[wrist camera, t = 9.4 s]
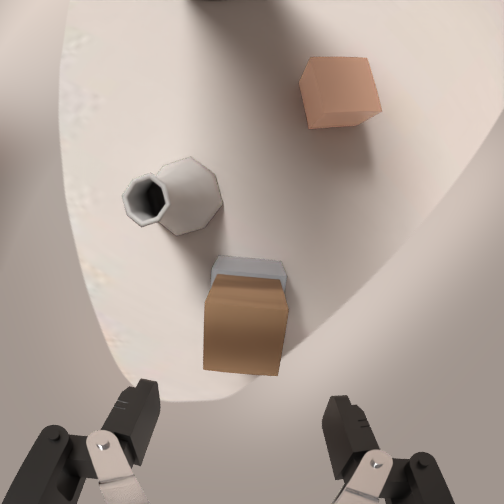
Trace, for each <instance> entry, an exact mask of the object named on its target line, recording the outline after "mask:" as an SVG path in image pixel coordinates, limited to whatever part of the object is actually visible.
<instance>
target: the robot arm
mask: <svg viewBox="0 0 504 504" xmlns="http://www.w3.org/2000/svg"><path fill="white" fill-rule="evenodd" d="M159 414H160V398H159V390H158V383H157V382H156V381H151V380H146V379H140V381H139V383H138V384H137V386H136V388H134V387H128V388H127V389H126V390H124V391H123V392H122V393H121V394H120V396H119V398H118V401H117V402H116V403H115V405H114V407H113V409H112V410H111V412H110V414H109V416H108V418H107V419H106V421H105V423H104V425H103V427H102V428H101V430H97V431H94V432H92V433H91V434H90V435H89V436H77V435H69V434H68V432H67V431H66V430H65V429H64V428H63V427H61V426H58V425H50V426H47V427H45V428H44V429H43V430H42V432H41V433H40V435H39V436H38V438H37V440H36V441H35V443H34V445H33V446H32V448H31V450H30V451H29V453H28V455H27V457H26V459H25V460H24V462H23V464H22V466H21V467H20V469H19V471H18V473H17V475H16V477H15V479H14V481H13V482H12V484H11V486H10V488H9V490H8V492H7V494H6V496H5V498H4V500H3V502H2V504H77V501H78V499H79V496H80V493H81V491H82V488H83V485H84V483H85V480H86V478H94V479H99V487H100V489H101V492H102V494H103V496H104V499H105V501H106V503H107V504H150V502H149V501H148V499H147V497H146V496H145V494H144V492H143V490H142V488H141V486H140V485H139V483H138V481H137V479H136V477H135V475H134V474H133V472H132V470H131V469H132V467H133V464H135V465H139V466H141V464H142V461H143V458H144V456H145V453H146V450H147V447H148V444H149V442H150V438H151V436H152V433H153V431H154V428H155V425H156V422H157V420H158V417H159ZM322 429H323V433H324V437H325V441H326V444H327V449H328V452H329V457H330V461H331V465H332V468H333V473H334V477H335V480H339V479H344V483H345V484H344V485H343V487H342V488H341V490H340V492H339V493H338V495H337V496H336V497H335V499H334V500H333V502H332V503H331V504H378V503H379V499H378V498H385V501H386V504H455V503H454V501H453V498H452V496H451V494H450V491H449V489H448V487H447V485H446V482H445V480H444V478H443V476H442V473H441V471H440V469H439V467H438V465H437V462H436V460H435V459H434V457H433V456H432V455H430V454H428V453H425V452H418V453H416V454H414V455H413V456H412V457H411V458H410V459H394V458H391V456H390V455H389V454H388V453H387V452H385V451H383V450H380V449H379V446H378V444H377V441H376V439H375V437H374V434H373V432H372V430H371V427H370V425H369V423H368V421H367V418H366V416H365V414H364V411H363V410H362V409H361V408H359V407H358V406H357V405H351V403H350V400H349V398H348V396H347V395H343V396H331V397H330V399H329V402H328V405H327V407H326V410H325V413H324V415H323V419H322Z"/></svg>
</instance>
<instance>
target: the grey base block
mask: <svg viewBox="0 0 504 504" xmlns="http://www.w3.org/2000/svg"><path fill="white" fill-rule="evenodd" d="M217 274H225V275H235V276H246V277H257V278H269V279H280V282H281V285H282V288H283V292H284V293H285V286H286V279H287V275H286V273H285V270H284V267H283V265H282V262H281V261H275V260H265V259H254V258H243V257H233V256H223V255H219V256H218V258H217V260H216V261H215V263H214V265H213V267H212V270H211V287H212V284H213V282H214V280H215V278H216V275H217ZM211 287H210V289H211Z"/></svg>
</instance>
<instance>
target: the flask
mask: <svg viewBox="0 0 504 504" xmlns="http://www.w3.org/2000/svg"><path fill="white" fill-rule="evenodd" d="M122 199H123V203H124V207H125V210H126V214H127V216H128V217H130V218H131V219H132V220H133V221H134V222H136V223H137V224H138V225H139V226H141V227H144V226H147V225H150V224H153V223H156V222H159V223H161V224H162V225H163V226H164V227H166V228H167V229H168V230H170V231H171V232H172V233H173V234H175V235H176V236H178V235H182V234H185V233H188V232H192V231H195V230H199V229H202V228H205V227H206V225H207V224H208V223H209V221H210V220H211V219H212V217H213V216H214V215H215V213H216V212H217V211H218V209H219V208H220V207H221V205H222V204H223V202H222V199H221V195H220V192H219V188H218V184H217V181H216V177H215V174H214V173H213V172H211V171H210V170H209V169H207V168H206V167H205V166H203V165H202V164H200V163H199V162H198V161H196V160H195V159H194V158H192V157H188V158H185V159H182V160H179V161H176V162H173V163H170V164H167V165H164V166H163V167H162V168H161V169H160V171H159V172H158V174H157V175H156V176H155V175H154V174H152V173H148V174H145V175H143V176H140V177H138V178H135V179H132V181H131V182H130V184H129V185H128V187H127V189H126V190H125V192H124V193H123V195H122Z"/></svg>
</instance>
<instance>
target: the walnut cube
mask: <svg viewBox="0 0 504 504" xmlns="http://www.w3.org/2000/svg"><path fill="white" fill-rule="evenodd" d="M288 312H289V309H288V306H287V302H286V299H285V295H284V292H283V288H282V285H281V282H280V279H269V278H257V277H246V276H235V275H225V274H217V275H216V278H215V280H214V282H213V284H212V287H211V289H210V291H209V294H208V296H207V298H206V301H205V310H204V350H203V370H211V371H219V372H229V373H240V374H252V375H268V376H278V372H279V366H280V361H281V355H282V349H283V343H284V337H285V331H286V324H287V318H288Z"/></svg>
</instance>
